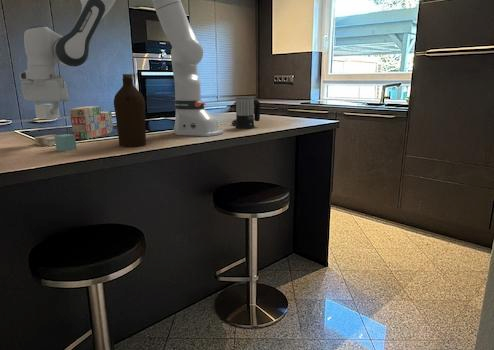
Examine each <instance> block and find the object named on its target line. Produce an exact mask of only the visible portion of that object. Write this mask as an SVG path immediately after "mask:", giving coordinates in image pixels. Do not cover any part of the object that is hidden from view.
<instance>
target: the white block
mask: <svg viewBox="0 0 494 350" xmlns="http://www.w3.org/2000/svg"><path fill="white" fill-rule="evenodd" d="M34 109H35V117H36V119H37V120H53V119H54V120H55V119H61V113H60V107H58V109H57V110H58V114H55V115H54V114H51V111H50V109H52V105H51V103H42V104H38V105H35V104H34Z"/></svg>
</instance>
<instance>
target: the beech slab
mask: <svg viewBox="0 0 494 350" xmlns="http://www.w3.org/2000/svg"><path fill="white" fill-rule="evenodd" d="M57 135H58V134H54V133H53V134H48V135H42V136H40V135H39V136H34V144H35V145H37V146H46V147H52V146H51V145H54V146H56V145H55V137H54V136H57Z"/></svg>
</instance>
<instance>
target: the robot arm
mask: <svg viewBox="0 0 494 350" xmlns="http://www.w3.org/2000/svg"><path fill="white" fill-rule="evenodd" d="M79 1H80V4H81V12H80V14H79V16H78V18H77V20H76V22H75V23H74V24H73V27H72V29H71V30H70V32H68V33H66V34H65V35H62V34H59V33H57V32H56V31H53V30H52V29H50V27H48V26H46V25H38V26H37V25H36V26H30V27H28V28H27V29H25V31H24V34H23V45H24V53H25V55H26V57H27V58H26V59H27V63H26V66H27V69H26V70H24V71H23V72H22V71H21V72H20V73H19V79H20V80H21V82H20V85H21V86H20V87H21V92H22V96H23V99H24V100H25V101H31V102H32V101H33V103H34V106H35V105H38V104H43V102H50V104H51V105H52V109H50V111H51V114H54V115H55V114H58V110H57V109H58V107H59V106H60V103H65V102H66V103H67V102H68V101H69V99H70V96H69V92H68V91H69V90H68V87H67V84H66V82H65V78H64V77H63V76H62V75H61V74H57V68H56V64H60V65H62V66H66V67H67V66H69V67H79V66H81V65H83V64H84V63H86V61H87V60H88V57H89V52H90V51H89V48H90V46H89V45H90V42H91V39H92V37H93V35H94V33H95V31H96V29H97V28H98V26H99V24H100V22H101V21H102V19H103V18H104V17H105V16H106V15H107V14H108V13H109V11H110V10H111V9H112V8H113V6H114V4H115V2H116V1H117V0H79ZM150 1H151V3H152V4H153V8H154V10H155V12H156V16H157V18H158V21H159V23H160V25H161V28H162V31H163V32H164V34H165V36H166V37H167V39H168V41H169V44H170V45H171V50H170V57H171V58H170V59H171V67H172V68H171V69H172V73H173V82H174V97H175V98H174V99H175V100H174V110H175V118H174V119H175V121H174V128H173V131H172V132H173V133H174V134H175V135H176V136H195V137H197V136H199V137H210V136H213V137H214V136H218V135H220V134H223V133H224V130H223V129H219V123H218V119H217V118H216V117H215V116H213V115H212V114H211V113H210V111H208V110H207V109H205V106H206V105H207V102H206V101H202V98H201V94H202V93H201V92H202V91H201V80H200V76H199V71H198V70H199V69H198V64H199V63H201V61H202V59H203V58H204V57H203V56H204V49H203V47H202V45H201V44H200V42H199V39H198V36H196V34H195V31H194V29H193V28H192V25H191V24H190V21H189V19H188V17H187V14H186V11H185V8H184V5H183V4H182V0H150ZM59 108H60V107H59Z"/></svg>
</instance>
